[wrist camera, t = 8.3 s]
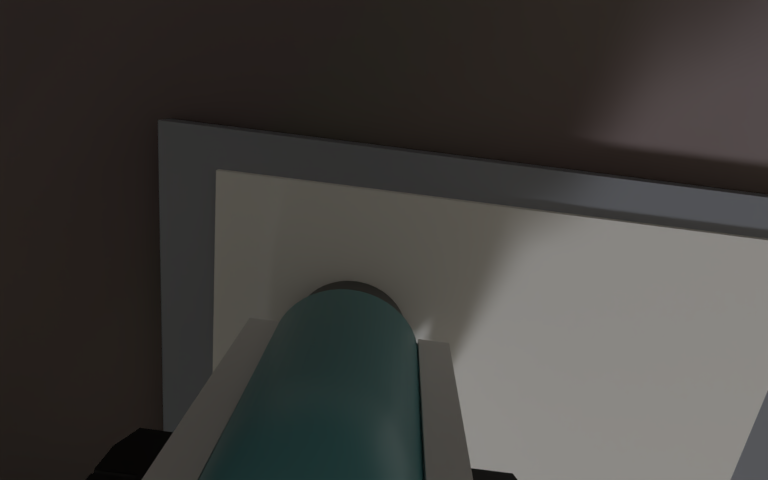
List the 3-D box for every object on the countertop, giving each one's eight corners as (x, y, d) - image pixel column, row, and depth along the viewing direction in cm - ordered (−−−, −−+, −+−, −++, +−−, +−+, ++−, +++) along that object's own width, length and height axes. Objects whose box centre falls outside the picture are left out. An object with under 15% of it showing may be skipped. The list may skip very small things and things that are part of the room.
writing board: (173, 517, 16) (162, 538, 16) (168, 118, 12) (153, 120, 12) (710, 584, 16) (725, 608, 16) (876, 208, 12) (907, 216, 12)
